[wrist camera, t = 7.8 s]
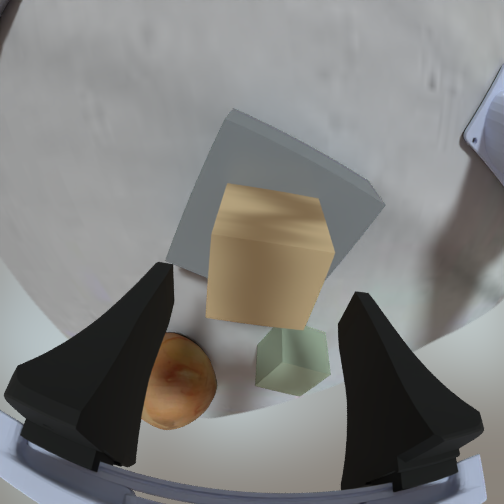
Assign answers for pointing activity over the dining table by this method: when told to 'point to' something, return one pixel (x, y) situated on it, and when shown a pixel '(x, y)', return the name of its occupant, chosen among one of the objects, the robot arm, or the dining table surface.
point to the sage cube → (292, 360)
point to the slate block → (271, 188)
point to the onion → (178, 384)
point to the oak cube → (267, 257)
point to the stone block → (3, 5)
